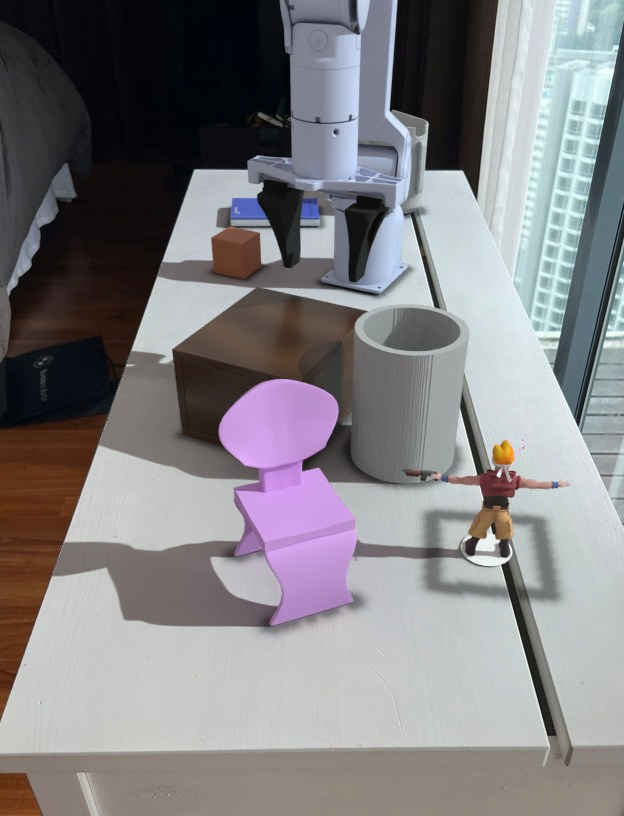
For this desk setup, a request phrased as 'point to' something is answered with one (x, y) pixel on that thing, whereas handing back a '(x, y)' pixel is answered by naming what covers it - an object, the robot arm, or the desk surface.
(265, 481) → the toy chair
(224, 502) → the desk surface
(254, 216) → the blue book
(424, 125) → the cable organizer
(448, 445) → the cup
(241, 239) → the block
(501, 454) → the action figure
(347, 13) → the robot arm
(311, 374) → the cabinet
